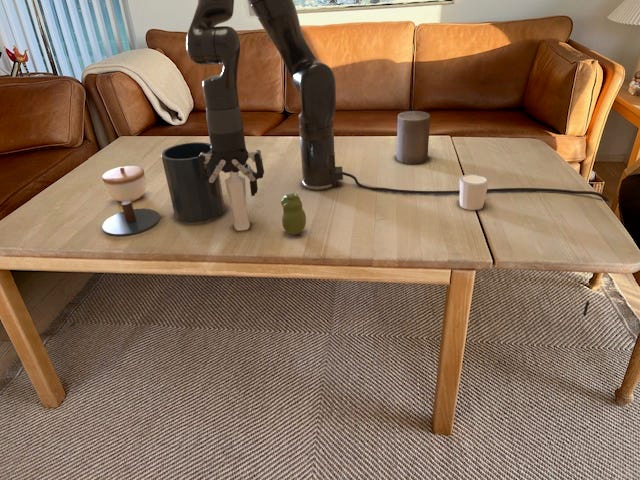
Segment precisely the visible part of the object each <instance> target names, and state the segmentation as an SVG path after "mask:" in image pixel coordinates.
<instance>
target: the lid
mask: <svg viewBox="0 0 640 480" xmlns="http://www.w3.org/2000/svg"><path fill="white" fill-rule="evenodd" d="M120 203H121V208H122V211H121V212H117V213H116V214H113V215H112V216H110V217H108V218H107V219H106V220H104V222H103V223H102V226H101V227H102V230H103V232H104V233H105V234H106V235H108V236H112V237H130V236H135V235H138V234H142V233H144V232H147V231H149V230H151V229H152V228H154V227H155V226H157V225H158V223H159V222H160V220H161V216H160V214H159V212H158V211H157V210H154V209H151V208H135V209H134V206H133V201H124V202H120Z"/></svg>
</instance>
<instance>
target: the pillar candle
mask: <svg viewBox="0 0 640 480" xmlns="http://www.w3.org/2000/svg"><path fill="white" fill-rule="evenodd" d="M396 127H397V133H396V160H397V161H398V162H400V163H402V164H407V165H418V164H422V163H425V162H427V161H428V159H429V158H428V157H429V155H428V154H429V143H430V142H429V141H430V128H431V114H430V113H428V112H425V111H422V110H421V111H419V110H409V111H403V112H400V113H398V114H397V126H396Z"/></svg>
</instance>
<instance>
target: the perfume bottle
mask: <svg viewBox="0 0 640 480" xmlns="http://www.w3.org/2000/svg"><path fill="white" fill-rule="evenodd" d="M224 183H225V187H226V191H227V196H228V199H229V203H230V208H231V211H232V217H233V220H234V224H233V228H234V229H235V230H236V231H238V232H240V231H247V230H248V229H249V228H250V226H251V224H250V221H249V219H248V217H249V216H248V205H247V204H248V202H247V188H246V177H245V176H241V175H239V171H238V172H229V177H228V178H226V179H224Z"/></svg>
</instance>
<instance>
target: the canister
mask: <svg viewBox="0 0 640 480" xmlns="http://www.w3.org/2000/svg"><path fill="white" fill-rule="evenodd" d="M201 152H204V153H205V154H211V153H212V150H211V144H210V142H202V141H192V142H184V143H179V144H174V145H172V146H169V147H167V148H165V149H164V150H162V152H161V153H160V156H161V160H162V165H163V170H164V174H165V178H166V183H167V187H168V193H169V195H170V196H169V197H170V200H171V204H172V209H173V213H174V217H175V219H177V220H178V221H180V222H183V223H190V224H191V223H202V222H206V221H210V220H213V219H216V218H217V217H222V216H223V215H224V214H225V211H226V210H225V209H226V208H225V207H226V206H225V199H224V194H223V188H222V184H221V177H220V174H219V175H218V176H217V178H216V179H217V182H218V188H219V196H218V197H215V196H214V195H212V193H211V188H210V183H209V182H208V181H206V180H204V181H202V180H201V179H200V171H199V162H198V157H199V155H200V153H201ZM215 168H216V165H215V164H214V162H213V161H212V160H211V159H209V162H208V163H207V171H208V174H212V173H213V171H214V170H215Z"/></svg>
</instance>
